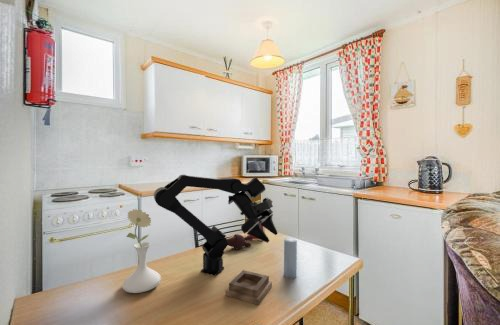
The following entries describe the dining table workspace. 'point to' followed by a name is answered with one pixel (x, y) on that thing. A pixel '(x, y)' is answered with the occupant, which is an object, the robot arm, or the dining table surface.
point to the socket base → (249, 287)
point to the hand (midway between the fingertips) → (272, 237)
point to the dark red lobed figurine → (239, 241)
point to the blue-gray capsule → (290, 258)
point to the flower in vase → (140, 259)
